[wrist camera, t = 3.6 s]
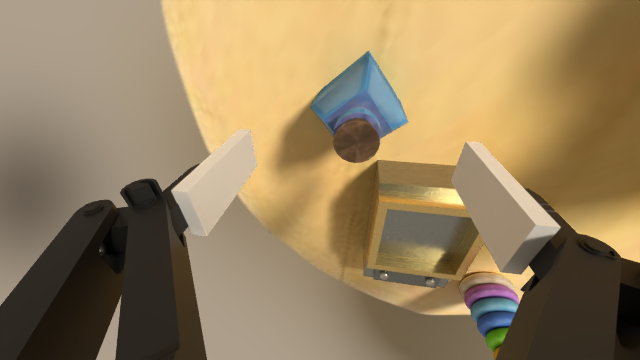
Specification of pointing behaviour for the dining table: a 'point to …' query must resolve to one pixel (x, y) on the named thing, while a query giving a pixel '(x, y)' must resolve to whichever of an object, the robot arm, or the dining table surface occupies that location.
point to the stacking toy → (490, 305)
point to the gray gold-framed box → (418, 226)
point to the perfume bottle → (359, 109)
